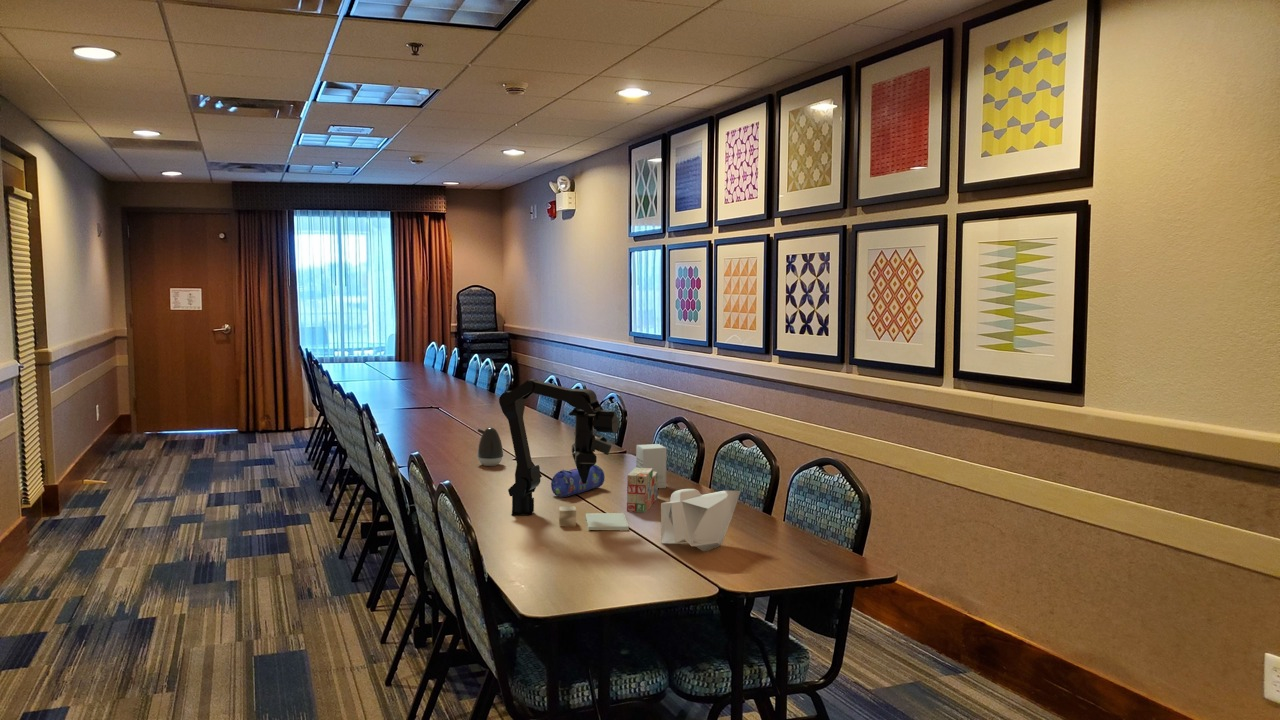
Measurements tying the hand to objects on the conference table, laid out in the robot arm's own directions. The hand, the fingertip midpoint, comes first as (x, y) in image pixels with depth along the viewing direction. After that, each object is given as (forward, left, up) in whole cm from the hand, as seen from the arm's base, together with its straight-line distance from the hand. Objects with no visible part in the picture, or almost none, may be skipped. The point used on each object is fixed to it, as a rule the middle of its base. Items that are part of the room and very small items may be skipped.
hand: (582, 480), depth 286 cm
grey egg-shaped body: (-33, +87, -13) cm, 94 cm away
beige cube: (-5, -5, -13) cm, 14 cm away
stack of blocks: (+21, +19, -13) cm, 31 cm away
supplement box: (+27, +46, -13) cm, 55 cm away
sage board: (+7, -5, -13) cm, 15 cm away
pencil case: (0, +38, -13) cm, 40 cm away
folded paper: (+33, -31, -13) cm, 47 cm away
